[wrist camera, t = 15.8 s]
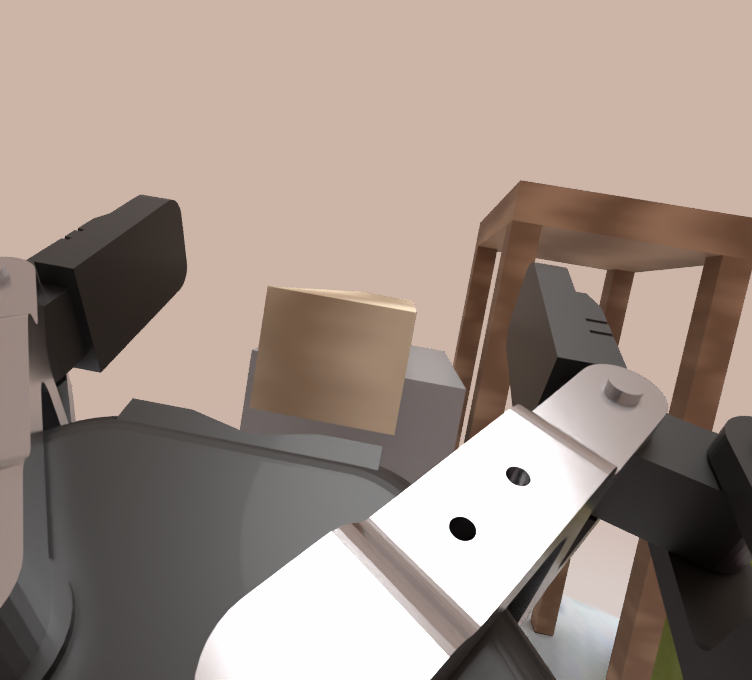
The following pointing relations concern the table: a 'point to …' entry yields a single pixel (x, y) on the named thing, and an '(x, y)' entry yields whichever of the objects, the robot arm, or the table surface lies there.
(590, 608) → the table surface
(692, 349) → the walnut stool
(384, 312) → the birch bar
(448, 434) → the grey rectangular block
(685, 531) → the robot arm
